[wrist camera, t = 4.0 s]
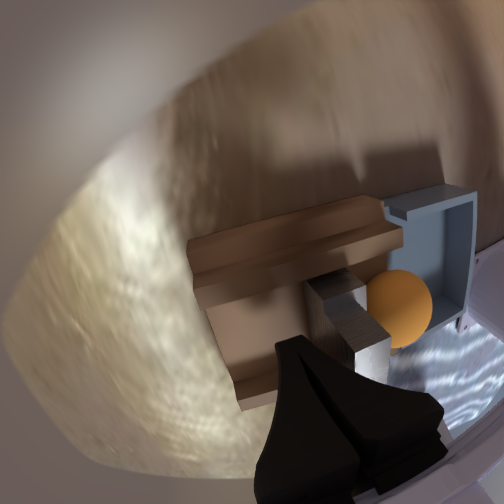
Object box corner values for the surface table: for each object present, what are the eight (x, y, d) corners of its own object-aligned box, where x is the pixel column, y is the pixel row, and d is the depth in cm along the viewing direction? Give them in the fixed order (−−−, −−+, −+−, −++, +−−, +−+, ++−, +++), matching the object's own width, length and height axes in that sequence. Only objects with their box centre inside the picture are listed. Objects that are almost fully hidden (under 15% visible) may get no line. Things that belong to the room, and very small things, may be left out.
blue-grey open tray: (445, 183, 16) (477, 191, 13) (441, 295, 19) (465, 312, 16) (367, 202, 15) (399, 213, 12) (373, 328, 18) (395, 352, 16)
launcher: (363, 194, 15) (402, 206, 12) (370, 335, 19) (396, 363, 15) (187, 240, 14) (185, 267, 11) (237, 381, 18) (245, 420, 14)
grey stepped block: (339, 263, 13) (404, 317, 9) (345, 344, 15) (391, 405, 10) (301, 275, 13) (354, 339, 8) (313, 356, 15) (352, 423, 10)
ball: (340, 274, 14) (396, 249, 14) (344, 336, 15) (396, 308, 16) (394, 309, 10) (451, 273, 11) (388, 376, 11) (441, 338, 12)
